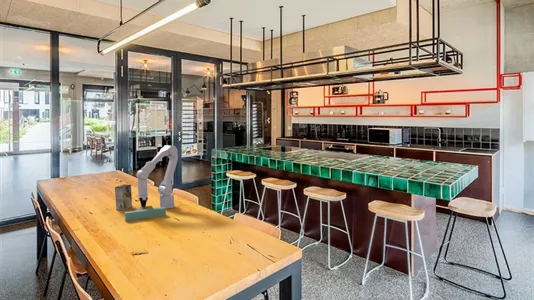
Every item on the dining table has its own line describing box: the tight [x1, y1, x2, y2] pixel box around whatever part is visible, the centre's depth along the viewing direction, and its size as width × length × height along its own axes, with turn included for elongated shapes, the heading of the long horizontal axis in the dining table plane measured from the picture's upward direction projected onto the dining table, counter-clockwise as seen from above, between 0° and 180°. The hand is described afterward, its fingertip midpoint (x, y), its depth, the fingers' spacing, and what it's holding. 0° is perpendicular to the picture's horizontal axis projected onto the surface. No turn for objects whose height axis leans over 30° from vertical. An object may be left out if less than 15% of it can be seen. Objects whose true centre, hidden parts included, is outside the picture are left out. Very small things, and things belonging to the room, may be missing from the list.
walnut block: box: [135, 205, 154, 211], centre depth 201 cm, size 10×8×5 cm
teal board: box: [124, 207, 167, 222], centre depth 196 cm, size 24×3×5 cm, turn 118°
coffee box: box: [114, 183, 133, 211], centre depth 215 cm, size 9×6×16 cm
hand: (143, 208), depth 207 cm, fingers closed
